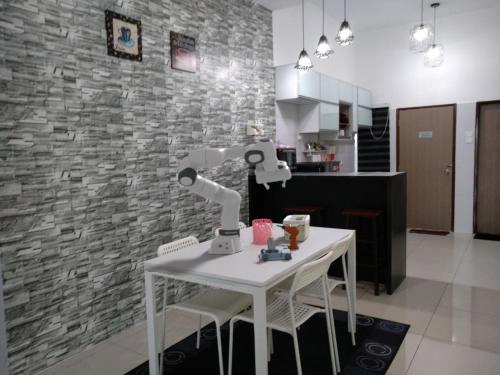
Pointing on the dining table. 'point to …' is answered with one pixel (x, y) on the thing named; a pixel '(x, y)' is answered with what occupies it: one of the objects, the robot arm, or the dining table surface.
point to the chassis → (275, 254)
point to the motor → (271, 245)
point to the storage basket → (300, 224)
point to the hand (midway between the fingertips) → (275, 187)
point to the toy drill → (291, 236)
